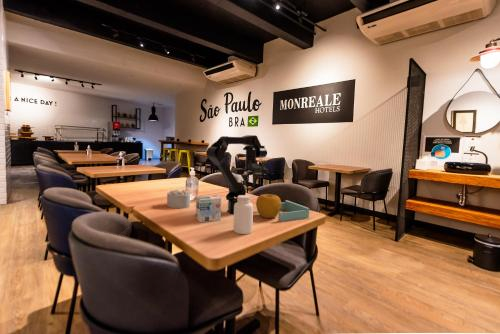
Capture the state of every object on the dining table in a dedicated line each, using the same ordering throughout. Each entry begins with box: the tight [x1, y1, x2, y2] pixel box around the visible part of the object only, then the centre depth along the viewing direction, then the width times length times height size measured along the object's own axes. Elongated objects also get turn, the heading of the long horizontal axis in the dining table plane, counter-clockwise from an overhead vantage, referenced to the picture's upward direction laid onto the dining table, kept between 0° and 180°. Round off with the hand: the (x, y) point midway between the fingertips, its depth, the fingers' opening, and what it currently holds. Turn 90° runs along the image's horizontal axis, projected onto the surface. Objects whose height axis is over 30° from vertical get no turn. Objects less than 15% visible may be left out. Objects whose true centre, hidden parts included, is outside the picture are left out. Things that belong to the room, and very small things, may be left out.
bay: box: [277, 200, 310, 223], centre depth 138 cm, size 18×20×5 cm
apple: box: [255, 193, 282, 219], centre depth 134 cm, size 13×13×11 cm
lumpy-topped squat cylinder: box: [166, 189, 191, 209], centre depth 148 cm, size 10×13×9 cm
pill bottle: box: [233, 194, 254, 235], centre depth 110 cm, size 8×8×15 cm
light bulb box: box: [195, 195, 222, 223], centre depth 125 cm, size 11×7×11 cm, turn 117°
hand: (250, 186), depth 146 cm, fingers open, 4 cm apart
